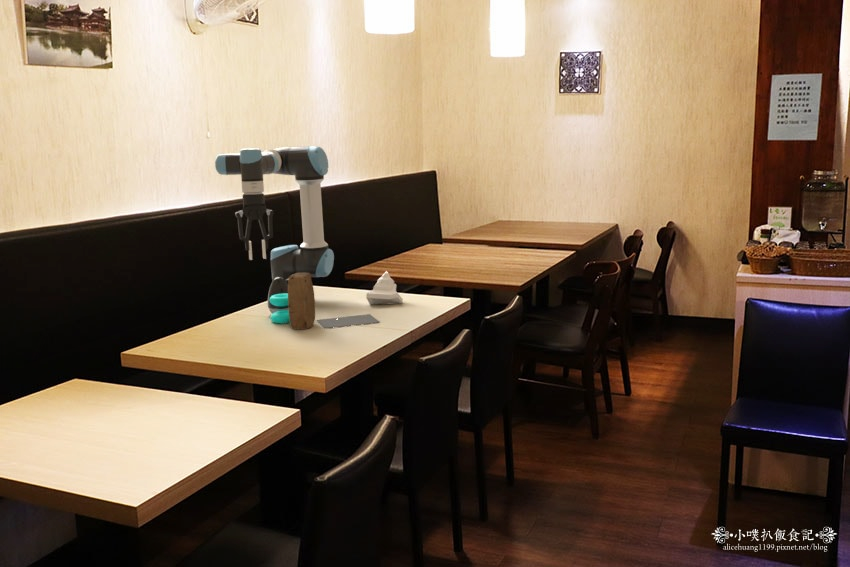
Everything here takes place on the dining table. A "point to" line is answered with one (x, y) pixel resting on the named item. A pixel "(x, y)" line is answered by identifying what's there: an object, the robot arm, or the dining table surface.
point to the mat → (348, 321)
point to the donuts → (284, 314)
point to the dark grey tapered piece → (277, 287)
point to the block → (301, 301)
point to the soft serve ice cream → (384, 291)
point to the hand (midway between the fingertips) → (257, 258)
